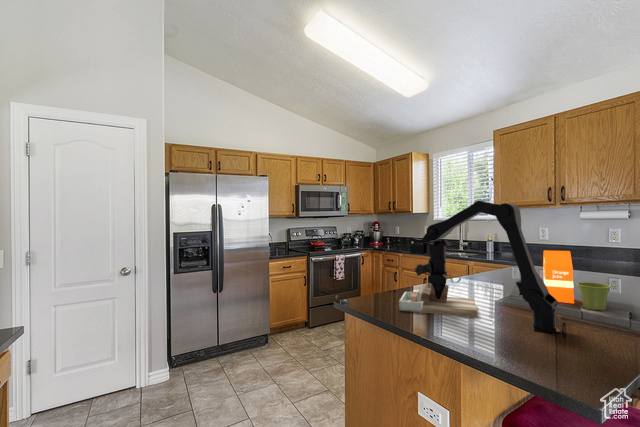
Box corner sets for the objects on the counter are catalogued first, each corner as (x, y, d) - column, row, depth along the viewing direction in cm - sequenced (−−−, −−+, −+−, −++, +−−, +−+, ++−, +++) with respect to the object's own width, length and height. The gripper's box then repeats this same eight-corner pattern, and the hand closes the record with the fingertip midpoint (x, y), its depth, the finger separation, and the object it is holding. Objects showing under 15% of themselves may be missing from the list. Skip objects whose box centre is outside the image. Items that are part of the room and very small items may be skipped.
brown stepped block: (446, 306, 110) (448, 290, 110) (420, 300, 114) (422, 284, 113) (446, 297, 122) (448, 283, 122) (423, 292, 126) (425, 278, 125)
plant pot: (571, 307, 114) (571, 283, 114) (585, 303, 118) (584, 281, 118) (603, 313, 106) (602, 288, 106) (617, 309, 110) (615, 285, 110)
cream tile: (418, 292, 122) (412, 291, 122) (418, 303, 121) (413, 303, 122) (419, 289, 126) (414, 289, 126) (419, 300, 126) (414, 300, 126)
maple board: (477, 317, 105) (476, 310, 105) (422, 312, 112) (422, 305, 112) (474, 305, 119) (473, 298, 120) (425, 301, 127) (425, 295, 127)
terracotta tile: (415, 296, 115) (410, 296, 116) (416, 308, 115) (410, 308, 116) (417, 293, 119) (411, 293, 120) (417, 305, 119) (412, 305, 120)
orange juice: (574, 303, 119) (572, 252, 119) (546, 300, 123) (544, 251, 124) (570, 298, 125) (568, 250, 126) (544, 296, 130) (542, 249, 130)
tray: (421, 312, 112) (421, 302, 112) (399, 310, 115) (399, 301, 115) (424, 301, 127) (424, 292, 127) (405, 299, 130) (405, 291, 130)
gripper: (418, 253, 129) (419, 290, 129) (412, 259, 112) (414, 301, 112) (446, 254, 125) (447, 292, 125) (445, 260, 108) (446, 304, 107)
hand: (438, 297), depth 117 cm, fingers closed on brown stepped block, 4 cm apart
